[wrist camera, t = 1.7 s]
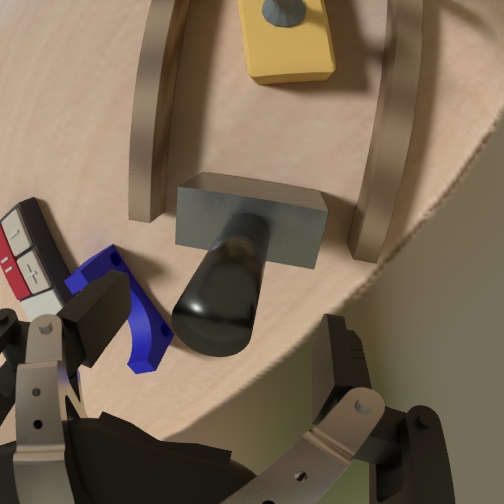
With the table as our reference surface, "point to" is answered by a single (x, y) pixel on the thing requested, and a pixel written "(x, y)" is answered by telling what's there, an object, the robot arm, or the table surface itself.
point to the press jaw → (239, 252)
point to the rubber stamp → (287, 40)
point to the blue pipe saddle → (142, 313)
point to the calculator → (32, 261)
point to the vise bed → (383, 137)
